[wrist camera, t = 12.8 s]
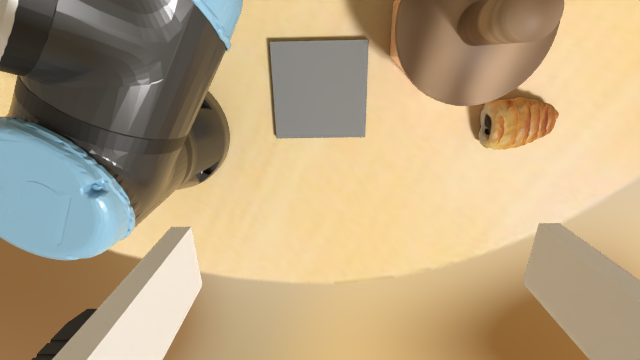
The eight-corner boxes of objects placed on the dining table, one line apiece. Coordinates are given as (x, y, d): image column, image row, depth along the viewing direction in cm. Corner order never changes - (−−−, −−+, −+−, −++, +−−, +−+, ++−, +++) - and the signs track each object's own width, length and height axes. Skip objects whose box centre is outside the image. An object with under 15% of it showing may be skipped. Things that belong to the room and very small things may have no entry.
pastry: (552, 91, 40) (574, 94, 37) (544, 141, 43) (564, 149, 39) (478, 99, 41) (493, 103, 37) (475, 148, 43) (488, 157, 40)
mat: (277, 137, 43) (276, 138, 42) (270, 41, 38) (269, 41, 38) (364, 135, 43) (365, 136, 42) (367, 39, 38) (368, 39, 38)
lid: (389, 105, 35) (414, 123, 26) (400, -68, 29) (437, -128, 20) (533, 103, 35) (611, 120, 25) (573, -73, 29) (695, -136, 19)
